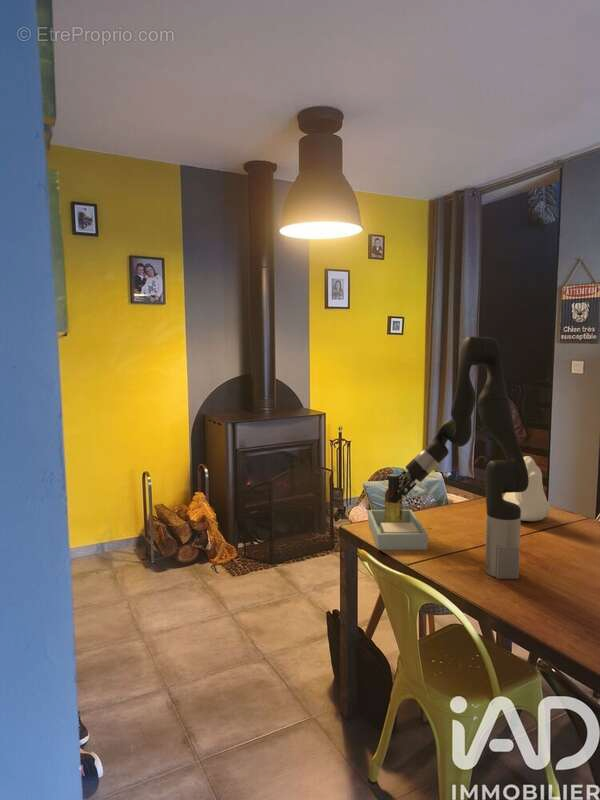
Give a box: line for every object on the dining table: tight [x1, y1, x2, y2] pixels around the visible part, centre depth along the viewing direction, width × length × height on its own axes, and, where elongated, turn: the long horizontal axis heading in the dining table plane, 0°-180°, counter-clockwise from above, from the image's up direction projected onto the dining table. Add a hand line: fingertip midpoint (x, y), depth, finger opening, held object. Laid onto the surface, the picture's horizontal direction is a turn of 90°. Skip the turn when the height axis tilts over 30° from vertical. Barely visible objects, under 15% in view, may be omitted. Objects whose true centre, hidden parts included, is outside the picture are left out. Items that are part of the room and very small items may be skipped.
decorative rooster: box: [503, 455, 551, 522], centre depth 206 cm, size 25×16×25 cm, turn 167°
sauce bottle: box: [384, 473, 404, 523], centre depth 190 cm, size 6×6×20 cm
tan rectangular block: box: [380, 523, 418, 533], centre depth 179 cm, size 9×11×5 cm
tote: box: [367, 509, 429, 551], centre depth 185 cm, size 26×16×6 cm, turn 0°
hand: (389, 497), depth 190 cm, fingers open, 8 cm apart
